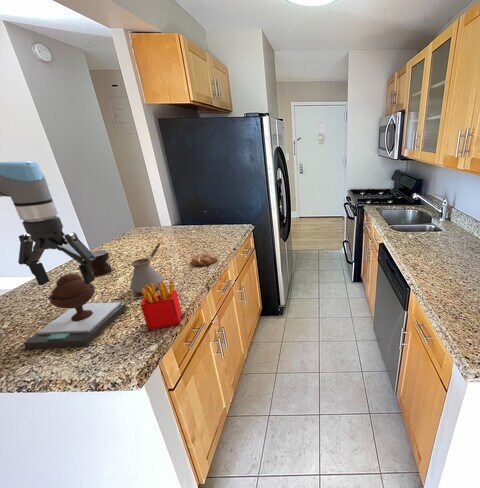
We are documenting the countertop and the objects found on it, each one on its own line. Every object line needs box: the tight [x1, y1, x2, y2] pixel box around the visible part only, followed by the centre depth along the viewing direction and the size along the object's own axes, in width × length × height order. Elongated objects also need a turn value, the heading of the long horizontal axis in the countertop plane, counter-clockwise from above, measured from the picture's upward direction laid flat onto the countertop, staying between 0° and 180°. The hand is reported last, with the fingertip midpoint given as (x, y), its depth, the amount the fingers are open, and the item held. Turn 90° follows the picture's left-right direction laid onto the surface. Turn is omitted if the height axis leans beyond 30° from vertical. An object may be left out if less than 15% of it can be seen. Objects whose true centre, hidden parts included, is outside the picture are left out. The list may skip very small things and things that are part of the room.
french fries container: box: [140, 280, 183, 331], centre depth 86 cm, size 7×9×14 cm
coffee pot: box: [129, 242, 164, 295], centre depth 110 cm, size 21×12×15 cm, turn 3°
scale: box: [22, 301, 127, 350], centre depth 86 cm, size 17×19×3 cm
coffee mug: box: [90, 249, 112, 277], centre depth 118 cm, size 12×9×10 cm
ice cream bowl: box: [47, 273, 96, 321], centre depth 84 cm, size 11×11×15 cm
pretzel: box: [191, 253, 218, 267], centre depth 132 cm, size 12×11×4 cm
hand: (67, 282), depth 82 cm, fingers open, 13 cm apart
